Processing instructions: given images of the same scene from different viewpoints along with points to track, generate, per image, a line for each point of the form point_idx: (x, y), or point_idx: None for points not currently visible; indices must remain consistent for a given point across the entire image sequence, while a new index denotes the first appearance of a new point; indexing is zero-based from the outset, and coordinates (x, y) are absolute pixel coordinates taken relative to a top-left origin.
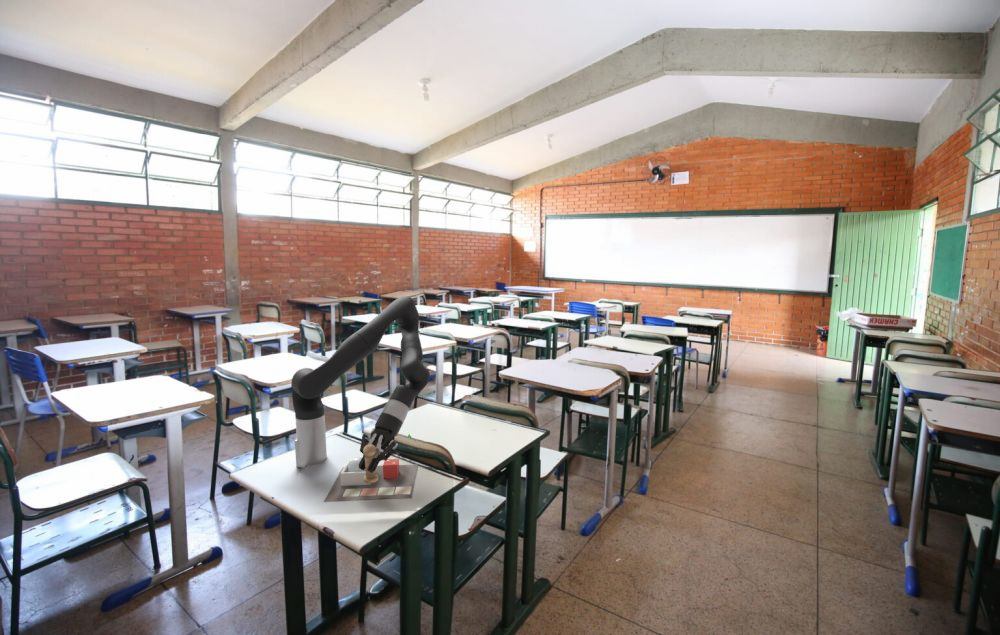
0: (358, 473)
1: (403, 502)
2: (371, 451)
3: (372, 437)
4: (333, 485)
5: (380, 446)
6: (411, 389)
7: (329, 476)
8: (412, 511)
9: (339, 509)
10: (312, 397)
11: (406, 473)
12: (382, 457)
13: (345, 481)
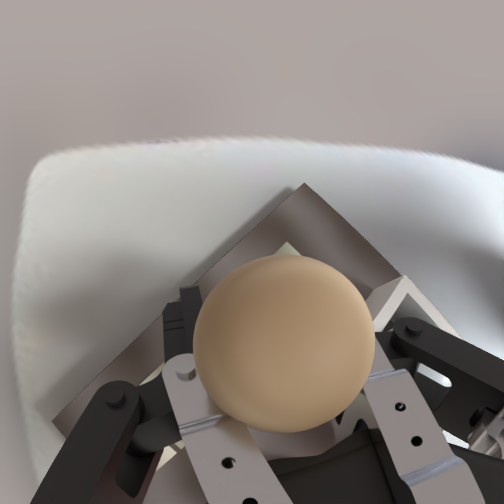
0: None
1: None
2: (200, 316)
3: (454, 467)
4: (392, 270)
5: (199, 477)
6: None
7: (464, 314)
8: (19, 373)
9: (240, 213)
10: None
11: None
12: (103, 396)
13: (372, 299)
